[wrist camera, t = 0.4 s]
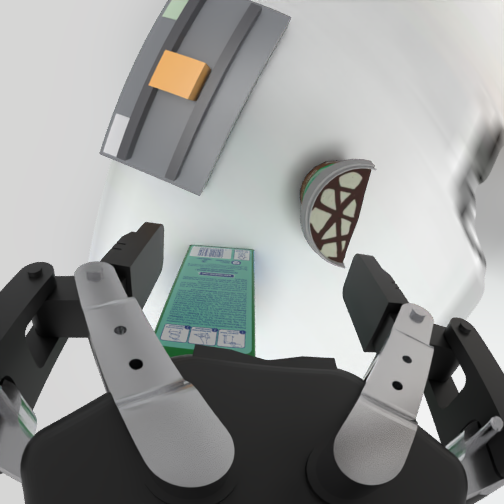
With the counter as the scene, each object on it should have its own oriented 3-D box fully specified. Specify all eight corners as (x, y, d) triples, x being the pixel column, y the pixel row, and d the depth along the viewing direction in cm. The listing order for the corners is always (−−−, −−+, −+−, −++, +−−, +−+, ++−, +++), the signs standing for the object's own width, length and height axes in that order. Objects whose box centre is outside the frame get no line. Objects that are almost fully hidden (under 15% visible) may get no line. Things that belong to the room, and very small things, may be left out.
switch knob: (176, 57, 26) (165, 49, 22) (211, 69, 27) (205, 63, 23) (161, 88, 28) (148, 85, 24) (196, 101, 29) (187, 99, 25)
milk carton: (248, 302, 45) (246, 452, 23) (190, 297, 45) (152, 441, 22) (254, 249, 41) (256, 402, 19) (189, 244, 41) (132, 387, 19)
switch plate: (187, -8, 25) (177, -26, 20) (287, 26, 28) (293, 11, 23) (113, 149, 35) (91, 156, 29) (204, 187, 37) (196, 200, 32)
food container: (302, 139, 35) (320, 147, 26) (347, 151, 35) (377, 164, 26) (281, 228, 40) (290, 263, 31) (324, 236, 40) (343, 272, 31)
